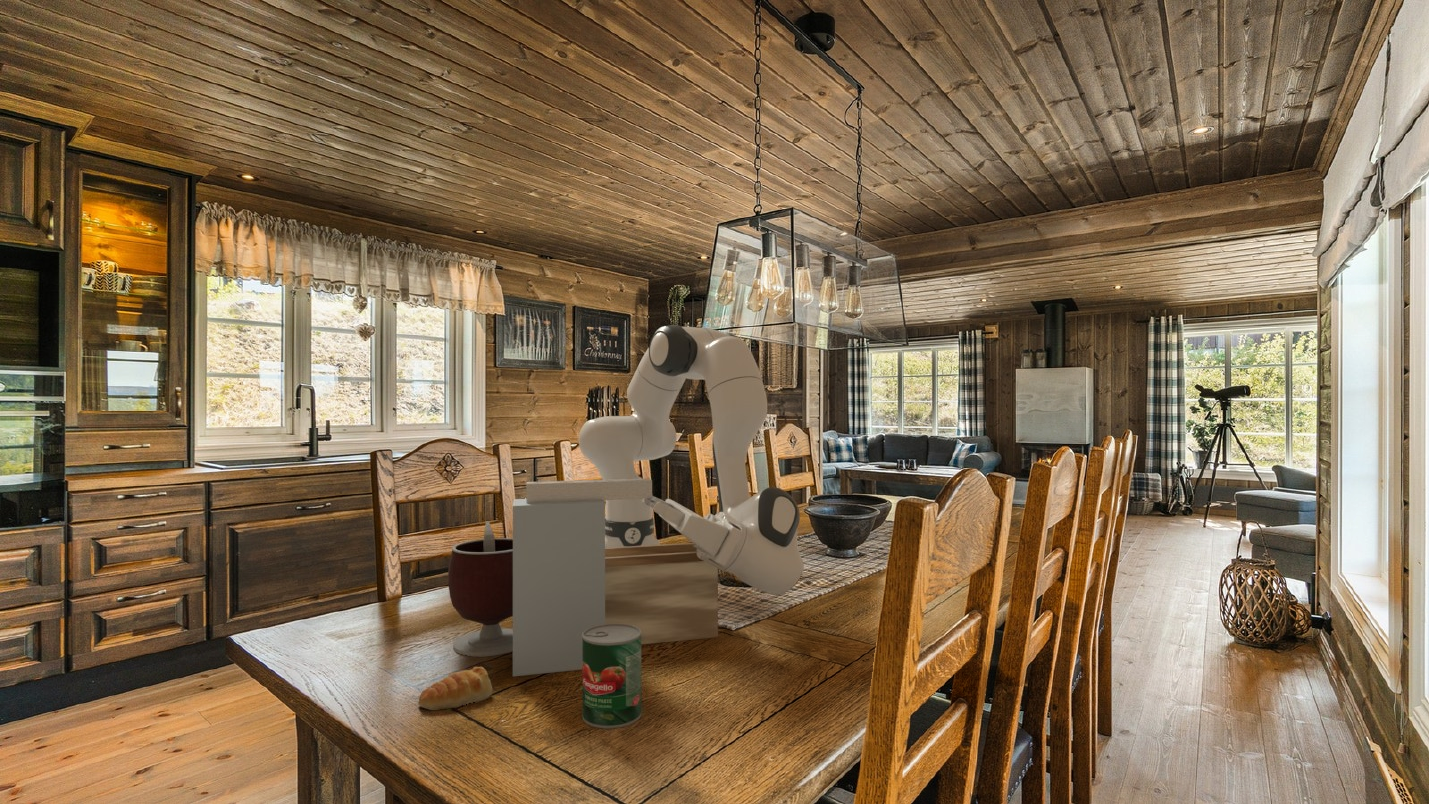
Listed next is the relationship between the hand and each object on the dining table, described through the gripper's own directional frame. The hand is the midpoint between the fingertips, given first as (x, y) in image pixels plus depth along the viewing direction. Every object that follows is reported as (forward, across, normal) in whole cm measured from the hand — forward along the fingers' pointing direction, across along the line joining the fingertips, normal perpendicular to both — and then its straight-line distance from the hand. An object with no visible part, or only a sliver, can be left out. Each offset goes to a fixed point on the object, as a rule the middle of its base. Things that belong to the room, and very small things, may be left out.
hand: (649, 501), depth 113 cm
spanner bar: (+9, 0, +4) cm, 10 cm away
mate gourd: (+10, -13, +35) cm, 39 cm away
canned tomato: (-5, +21, +26) cm, 34 cm away
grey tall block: (0, 0, +29) cm, 29 cm away
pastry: (+12, +10, +37) cm, 40 cm away
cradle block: (-14, -10, +21) cm, 27 cm away
